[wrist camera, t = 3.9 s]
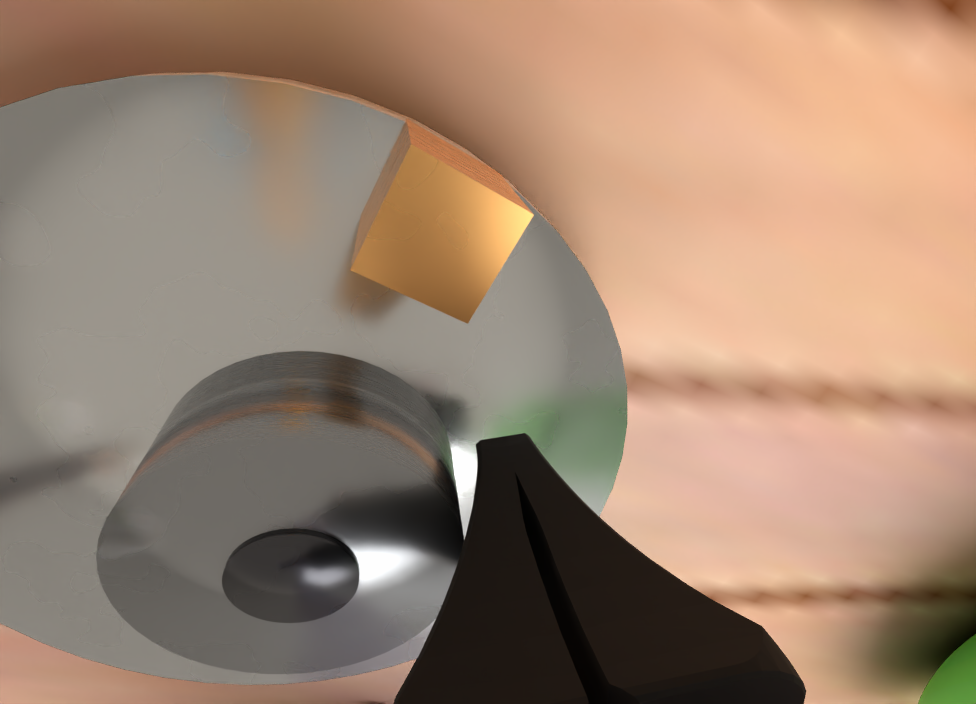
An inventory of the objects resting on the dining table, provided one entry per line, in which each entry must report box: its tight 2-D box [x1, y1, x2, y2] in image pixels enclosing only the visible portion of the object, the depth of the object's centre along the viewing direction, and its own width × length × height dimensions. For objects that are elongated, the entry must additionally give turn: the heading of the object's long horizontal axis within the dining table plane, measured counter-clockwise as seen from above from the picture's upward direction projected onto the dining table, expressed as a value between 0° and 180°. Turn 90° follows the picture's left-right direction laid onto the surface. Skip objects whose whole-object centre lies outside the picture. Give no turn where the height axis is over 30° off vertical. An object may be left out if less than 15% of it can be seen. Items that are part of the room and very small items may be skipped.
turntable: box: [0, 72, 627, 685], centre depth 12 cm, size 18×18×4 cm
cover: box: [96, 351, 464, 674], centre depth 12 cm, size 7×7×3 cm
